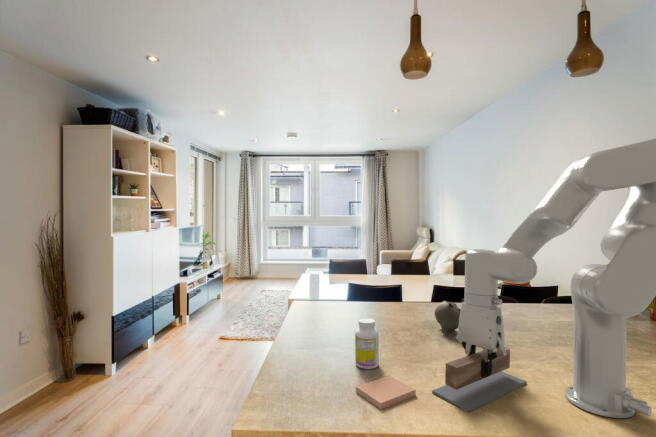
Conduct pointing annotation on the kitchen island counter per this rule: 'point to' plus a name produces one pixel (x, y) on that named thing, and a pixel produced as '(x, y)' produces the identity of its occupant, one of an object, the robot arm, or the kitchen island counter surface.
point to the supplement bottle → (366, 344)
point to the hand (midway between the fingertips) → (479, 372)
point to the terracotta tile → (385, 391)
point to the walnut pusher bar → (472, 369)
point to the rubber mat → (480, 391)
